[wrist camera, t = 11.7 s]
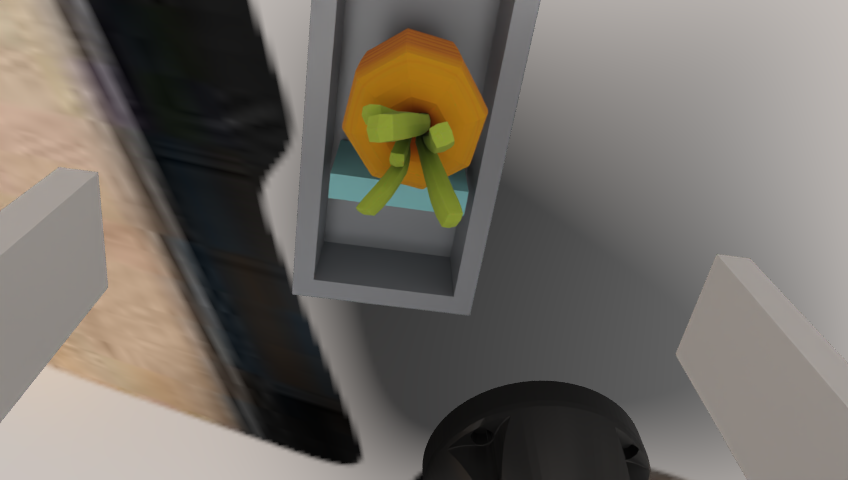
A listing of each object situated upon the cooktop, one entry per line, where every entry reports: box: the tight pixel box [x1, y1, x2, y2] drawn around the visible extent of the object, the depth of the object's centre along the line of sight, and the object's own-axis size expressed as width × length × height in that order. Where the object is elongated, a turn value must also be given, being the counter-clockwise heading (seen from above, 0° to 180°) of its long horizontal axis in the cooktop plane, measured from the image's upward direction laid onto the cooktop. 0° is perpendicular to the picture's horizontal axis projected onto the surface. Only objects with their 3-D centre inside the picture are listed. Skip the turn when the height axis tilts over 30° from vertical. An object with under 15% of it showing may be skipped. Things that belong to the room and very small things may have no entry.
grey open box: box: [292, 0, 540, 315], centre depth 31 cm, size 17×9×5 cm, turn 171°
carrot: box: [342, 28, 488, 228], centre depth 24 cm, size 5×5×15 cm
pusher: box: [328, 140, 469, 216], centre depth 31 cm, size 1×6×4 cm, turn 81°
